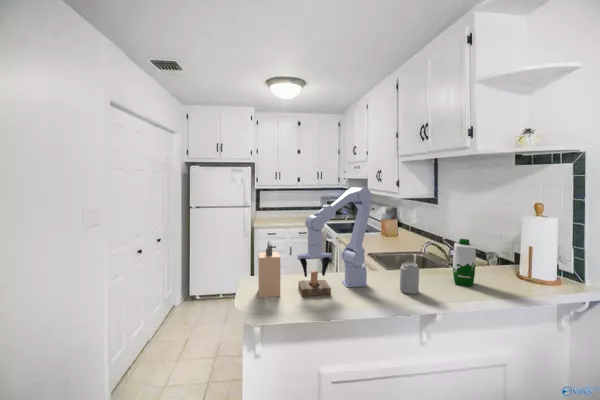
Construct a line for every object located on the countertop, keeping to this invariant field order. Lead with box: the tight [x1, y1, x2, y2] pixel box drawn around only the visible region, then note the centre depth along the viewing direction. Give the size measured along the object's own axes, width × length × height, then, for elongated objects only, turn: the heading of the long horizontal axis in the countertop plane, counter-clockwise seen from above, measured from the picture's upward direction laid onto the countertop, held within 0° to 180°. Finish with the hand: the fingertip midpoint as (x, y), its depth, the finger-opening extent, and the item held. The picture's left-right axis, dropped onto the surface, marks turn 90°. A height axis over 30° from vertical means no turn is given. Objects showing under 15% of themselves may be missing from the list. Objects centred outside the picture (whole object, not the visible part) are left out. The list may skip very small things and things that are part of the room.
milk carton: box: [452, 238, 477, 287], centre depth 137 cm, size 9×9×20 cm
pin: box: [310, 270, 319, 286], centre depth 127 cm, size 3×3×8 cm
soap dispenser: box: [257, 240, 281, 298], centre depth 123 cm, size 13×9×22 cm
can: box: [399, 262, 420, 295], centre depth 127 cm, size 8×8×12 cm
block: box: [298, 279, 332, 298], centre depth 127 cm, size 12×10×3 cm
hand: (314, 275), depth 127 cm, fingers open, 7 cm apart
